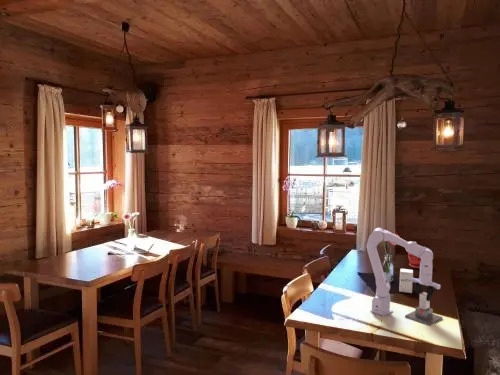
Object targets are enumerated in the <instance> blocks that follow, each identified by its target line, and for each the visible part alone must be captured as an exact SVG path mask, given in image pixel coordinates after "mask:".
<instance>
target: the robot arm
mask: <svg viewBox="0 0 500 375" xmlns="http://www.w3.org/2000/svg"><path fill="white" fill-rule="evenodd" d="M389 241H390V242H393V244H396V245H398V246H401V247H402V248H405V250H406V252H407V253H408V252H409V253H411V254H413V255H415V257H416V256H417V257H420V258H421V263H420V268H419V277H418V278H415V277H413V278H411V282H412V283H415V284H414V287H415V289H416V291H417V296H418V298H420V297H419V296H420V293H422V292H424V287H425V286H427V287H426V293H427V301H431V298H432V296H433V293H434V292H435V290H436V289H437V290H440V289H441V284H439V283H436V282H433V266H434V265H433V259H434V253H433V251H432V250H431V249H430V248H429V247H426V246H422V245H419V244H418V243H417V242H416V241H412V240H411V241H407V240H405V239H403V238H401V237H399V235H396V234H394V233H393V232H391V231H389V230H387V229H384V228H383V227H375V228H374V230H373V231H372V232H371V234H369V236H368V239H367V242H366V244H365V247H366V248H365V249H366V251H367V254H368V258H369V261H370V265H371V268H372V272H373V274H374V278H375V285H376V289H375V296H374V297H373V298H372V300H371V309H370V312H371V313H374V314H376V315H380V316H381V317H384V316H387V315H389V314H391V313H393V312H394V310H392V309H391V293H390V290H391V283H390V282H389V281H388V278H387V277H386V275H385V272H384V269H383V266H382V262H381V259H380V256H379V252H378V248H377V246H378V245H379V244H380V243H381V242H389Z"/></svg>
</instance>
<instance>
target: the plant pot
mask: <svg viewBox="0 0 500 375" xmlns="http://www.w3.org/2000/svg"><path fill="white" fill-rule="evenodd" d="M407 256H408V262H409V263H408V265H409V267H412V268H415V269H420V263H421V258H420V257H417V256H415V255H413V254H411V253H409V252H407Z"/></svg>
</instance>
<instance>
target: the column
mask: <svg viewBox="0 0 500 375" xmlns="http://www.w3.org/2000/svg"><path fill="white" fill-rule="evenodd" d="M419 297H420V298H419ZM418 298H419V300H418V301H419V302H418V307H419V309H422V310H425V311H427V310H429V308H430V305H431V304H430V303H431V302H430V301H431V300H430V301H427V292H425V291H423V292H422V293H420V296H418Z"/></svg>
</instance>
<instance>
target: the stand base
mask: <svg viewBox="0 0 500 375" xmlns="http://www.w3.org/2000/svg"><path fill="white" fill-rule="evenodd" d="M433 312H434V308H432V307H429V310H427V311H425V310H422V309H419V306H418V307H415V310H414V311H411V312H409V313H407V314H405V315H404V317H405V318H406V319H409V320H412V321H414V322H418V323H421V324H423V325H426V326H429V327H430V326H432V325H434V324H435V323H437V322H439V321H442V320H443V316H441V315H437V314H435V313H433Z"/></svg>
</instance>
